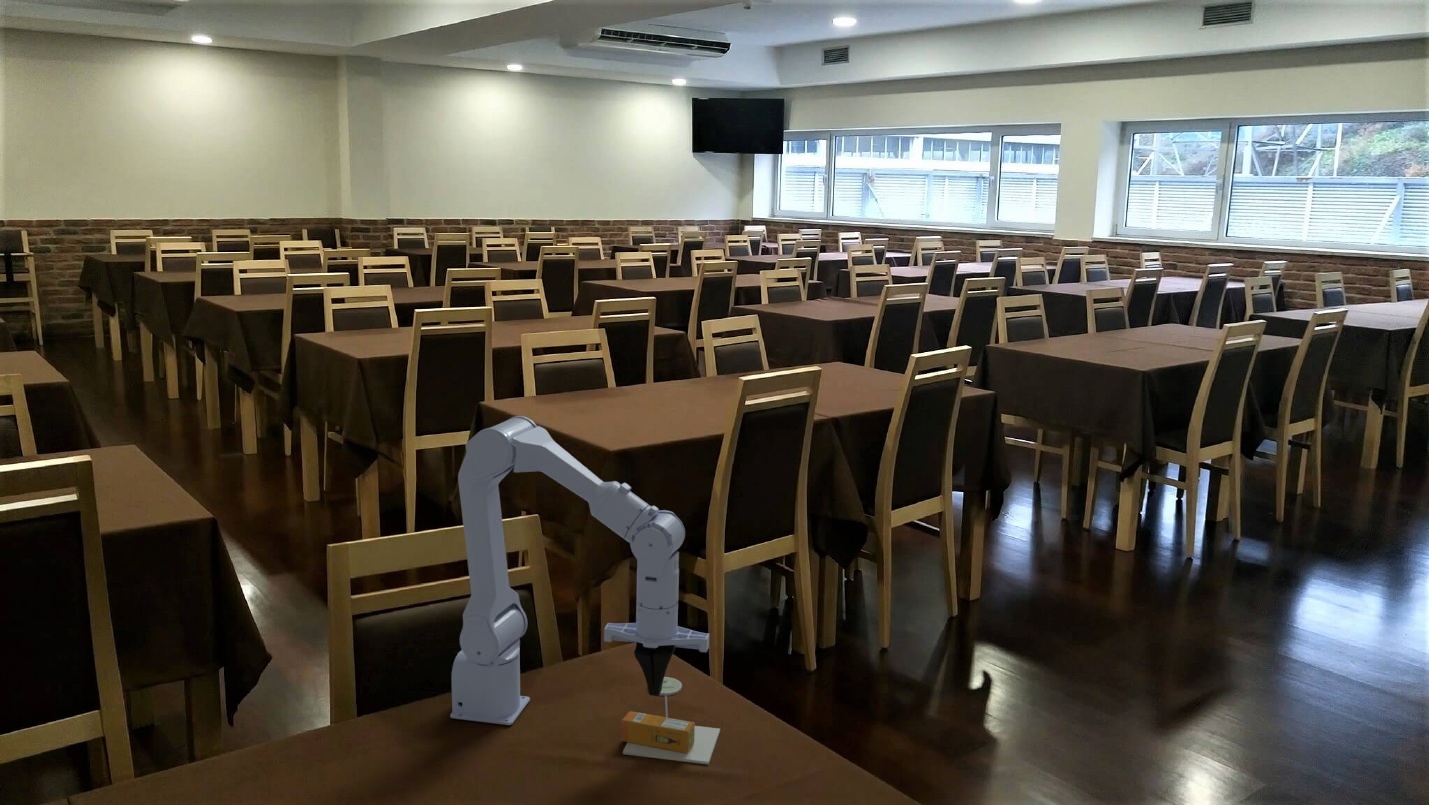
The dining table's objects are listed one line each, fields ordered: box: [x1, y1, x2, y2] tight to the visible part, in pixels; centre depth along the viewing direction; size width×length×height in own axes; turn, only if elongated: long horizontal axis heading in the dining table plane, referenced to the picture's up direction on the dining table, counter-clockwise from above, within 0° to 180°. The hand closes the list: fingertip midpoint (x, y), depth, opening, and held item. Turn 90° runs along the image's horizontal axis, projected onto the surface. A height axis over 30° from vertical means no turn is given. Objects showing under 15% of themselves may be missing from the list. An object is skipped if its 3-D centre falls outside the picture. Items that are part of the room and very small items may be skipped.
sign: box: [659, 676, 683, 718], centre depth 158 cm, size 5×1×15 cm
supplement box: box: [620, 710, 696, 753], centre depth 145 cm, size 3×3×10 cm
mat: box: [622, 725, 721, 765], centre depth 147 cm, size 12×9×1 cm
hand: (655, 692), depth 146 cm, fingers closed
